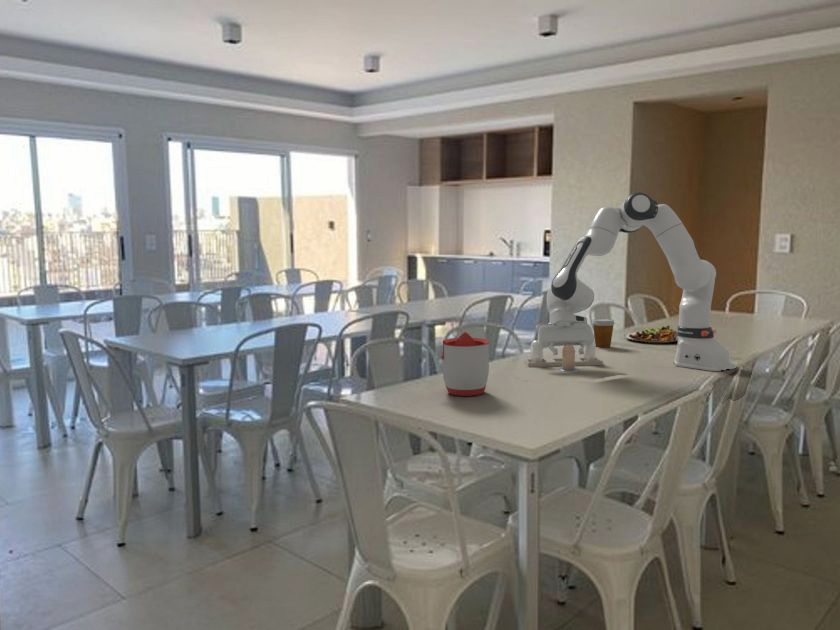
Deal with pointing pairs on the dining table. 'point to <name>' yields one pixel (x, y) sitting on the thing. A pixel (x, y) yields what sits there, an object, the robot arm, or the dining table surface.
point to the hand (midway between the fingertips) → (568, 353)
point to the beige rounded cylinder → (568, 358)
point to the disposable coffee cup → (603, 332)
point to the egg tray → (559, 362)
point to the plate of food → (654, 335)
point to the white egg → (536, 352)
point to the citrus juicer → (465, 365)
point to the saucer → (567, 371)
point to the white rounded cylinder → (589, 352)
